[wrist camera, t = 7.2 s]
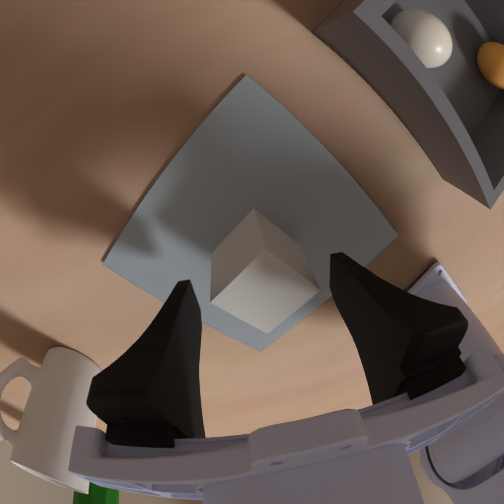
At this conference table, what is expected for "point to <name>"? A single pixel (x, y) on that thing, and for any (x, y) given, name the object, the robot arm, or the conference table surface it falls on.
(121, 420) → the robot arm
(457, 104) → the bin
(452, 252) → the conference table surface
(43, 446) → the mug
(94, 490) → the plastic bottle
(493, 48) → the orange ball
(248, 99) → the bin lid
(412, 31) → the cream ball
